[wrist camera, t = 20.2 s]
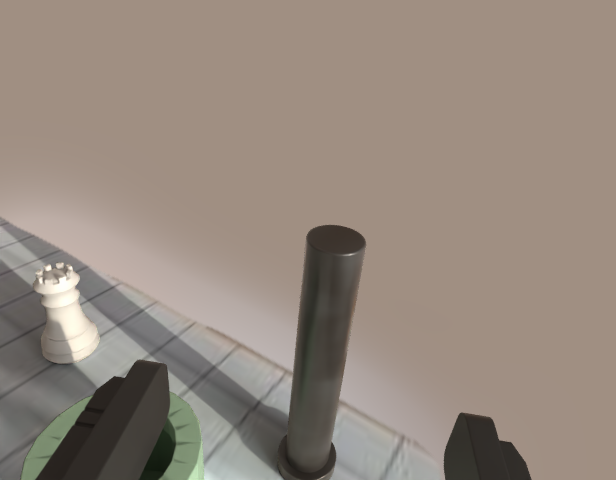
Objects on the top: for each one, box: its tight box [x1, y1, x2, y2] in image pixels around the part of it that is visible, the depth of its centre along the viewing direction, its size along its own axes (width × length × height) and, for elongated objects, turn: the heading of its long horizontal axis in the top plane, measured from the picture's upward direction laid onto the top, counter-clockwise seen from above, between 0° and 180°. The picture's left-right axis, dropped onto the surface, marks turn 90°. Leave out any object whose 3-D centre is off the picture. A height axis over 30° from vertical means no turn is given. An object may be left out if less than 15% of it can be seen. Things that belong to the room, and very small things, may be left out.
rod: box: [278, 225, 366, 480], centre depth 26 cm, size 4×4×18 cm
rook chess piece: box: [33, 262, 100, 364], centre depth 36 cm, size 4×4×8 cm
